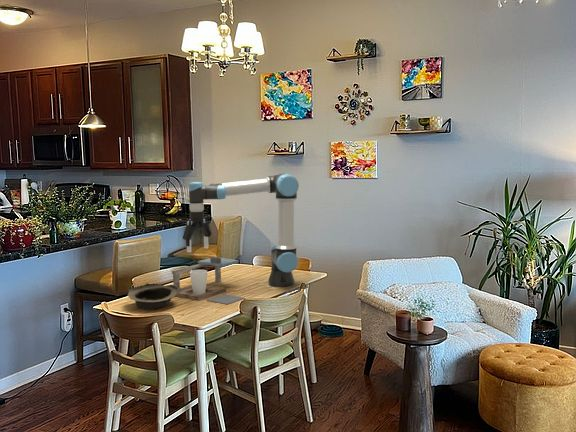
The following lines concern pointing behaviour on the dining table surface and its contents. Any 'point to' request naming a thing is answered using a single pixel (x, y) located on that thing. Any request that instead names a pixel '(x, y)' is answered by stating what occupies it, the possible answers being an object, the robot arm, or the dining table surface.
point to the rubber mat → (225, 299)
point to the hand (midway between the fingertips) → (197, 250)
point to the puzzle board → (187, 291)
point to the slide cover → (218, 261)
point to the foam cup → (198, 281)
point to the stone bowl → (152, 295)
